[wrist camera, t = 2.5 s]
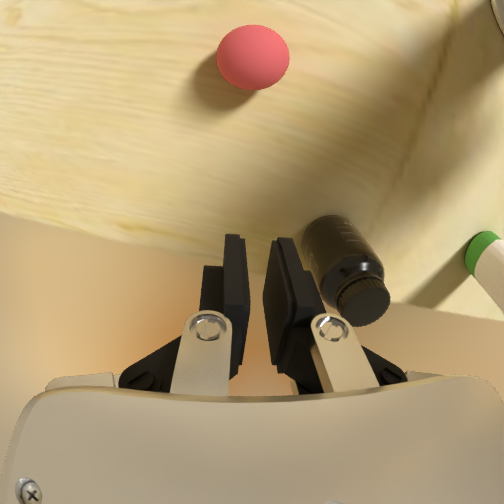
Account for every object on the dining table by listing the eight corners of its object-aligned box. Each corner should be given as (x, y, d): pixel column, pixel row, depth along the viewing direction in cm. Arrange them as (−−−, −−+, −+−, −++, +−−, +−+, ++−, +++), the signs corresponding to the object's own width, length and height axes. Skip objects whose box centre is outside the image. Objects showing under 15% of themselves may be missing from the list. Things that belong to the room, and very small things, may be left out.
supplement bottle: (336, 269, 36) (369, 340, 26) (290, 253, 35) (313, 328, 25) (366, 225, 33) (413, 289, 23) (319, 203, 31) (359, 267, 21)
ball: (255, 20, 21) (262, 4, 16) (295, 66, 23) (312, 62, 18) (204, 56, 22) (197, 49, 17) (245, 101, 25) (249, 106, 20)
